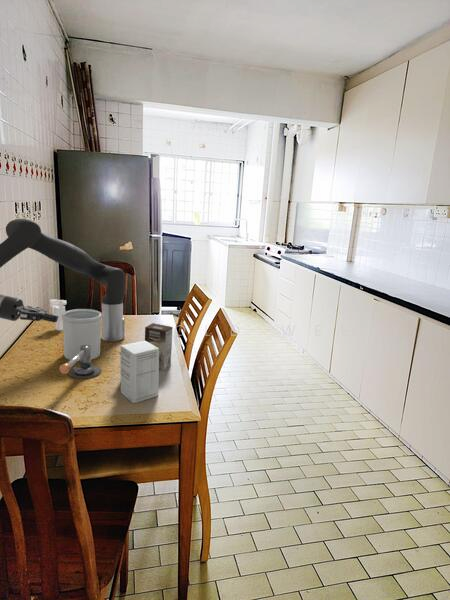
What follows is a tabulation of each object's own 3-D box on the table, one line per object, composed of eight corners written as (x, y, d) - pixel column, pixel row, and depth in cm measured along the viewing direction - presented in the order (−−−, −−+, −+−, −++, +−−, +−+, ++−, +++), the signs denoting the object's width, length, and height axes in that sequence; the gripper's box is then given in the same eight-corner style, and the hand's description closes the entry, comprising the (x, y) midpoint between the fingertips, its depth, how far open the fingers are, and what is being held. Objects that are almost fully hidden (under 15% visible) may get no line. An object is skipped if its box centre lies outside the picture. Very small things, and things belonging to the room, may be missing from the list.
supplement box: (145, 385, 135) (146, 339, 131) (159, 396, 128) (160, 347, 125) (119, 392, 129) (119, 344, 125) (132, 404, 122) (133, 353, 118)
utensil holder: (109, 353, 162) (109, 312, 158) (83, 364, 149) (82, 320, 145) (82, 346, 168) (81, 306, 164) (54, 356, 155) (53, 314, 151)
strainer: (49, 328, 188) (48, 298, 185) (65, 326, 192) (64, 297, 189) (53, 332, 183) (52, 301, 179) (69, 330, 187) (68, 300, 183)
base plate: (77, 365, 148) (77, 364, 148) (105, 367, 148) (105, 366, 147) (64, 377, 137) (64, 376, 137) (95, 379, 137) (95, 378, 137)
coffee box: (143, 366, 151) (143, 326, 147) (151, 360, 157) (152, 322, 153) (164, 370, 148) (165, 330, 145) (171, 365, 154) (173, 326, 151)
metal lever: (79, 367, 144) (78, 343, 142) (97, 368, 144) (97, 345, 142) (52, 392, 125) (51, 364, 123) (74, 393, 124) (73, 366, 122)
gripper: (11, 315, 135) (61, 326, 136) (-10, 321, 121) (46, 333, 123) (15, 294, 134) (66, 306, 135) (-5, 297, 121) (51, 310, 122)
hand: (56, 319), depth 129 cm, fingers closed
